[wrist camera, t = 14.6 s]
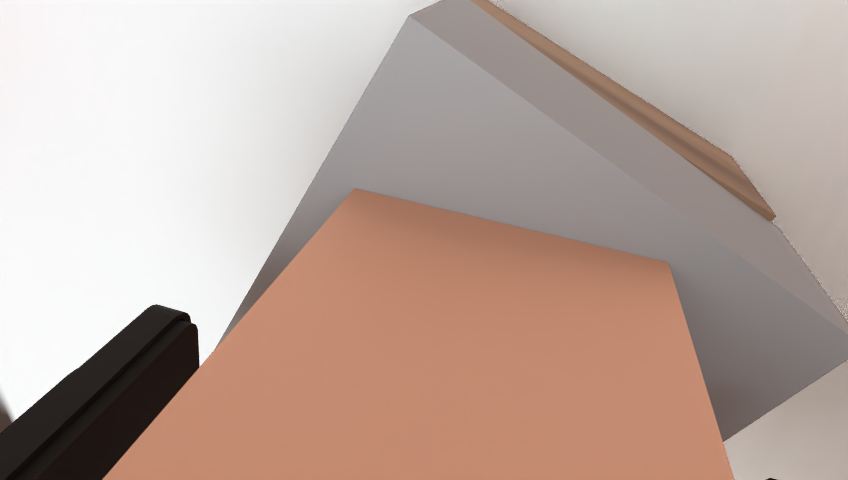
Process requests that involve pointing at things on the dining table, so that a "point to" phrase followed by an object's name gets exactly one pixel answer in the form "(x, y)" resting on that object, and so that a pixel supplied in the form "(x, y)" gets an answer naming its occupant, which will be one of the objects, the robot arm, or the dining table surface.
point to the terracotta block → (445, 364)
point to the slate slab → (575, 197)
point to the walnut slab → (643, 115)
